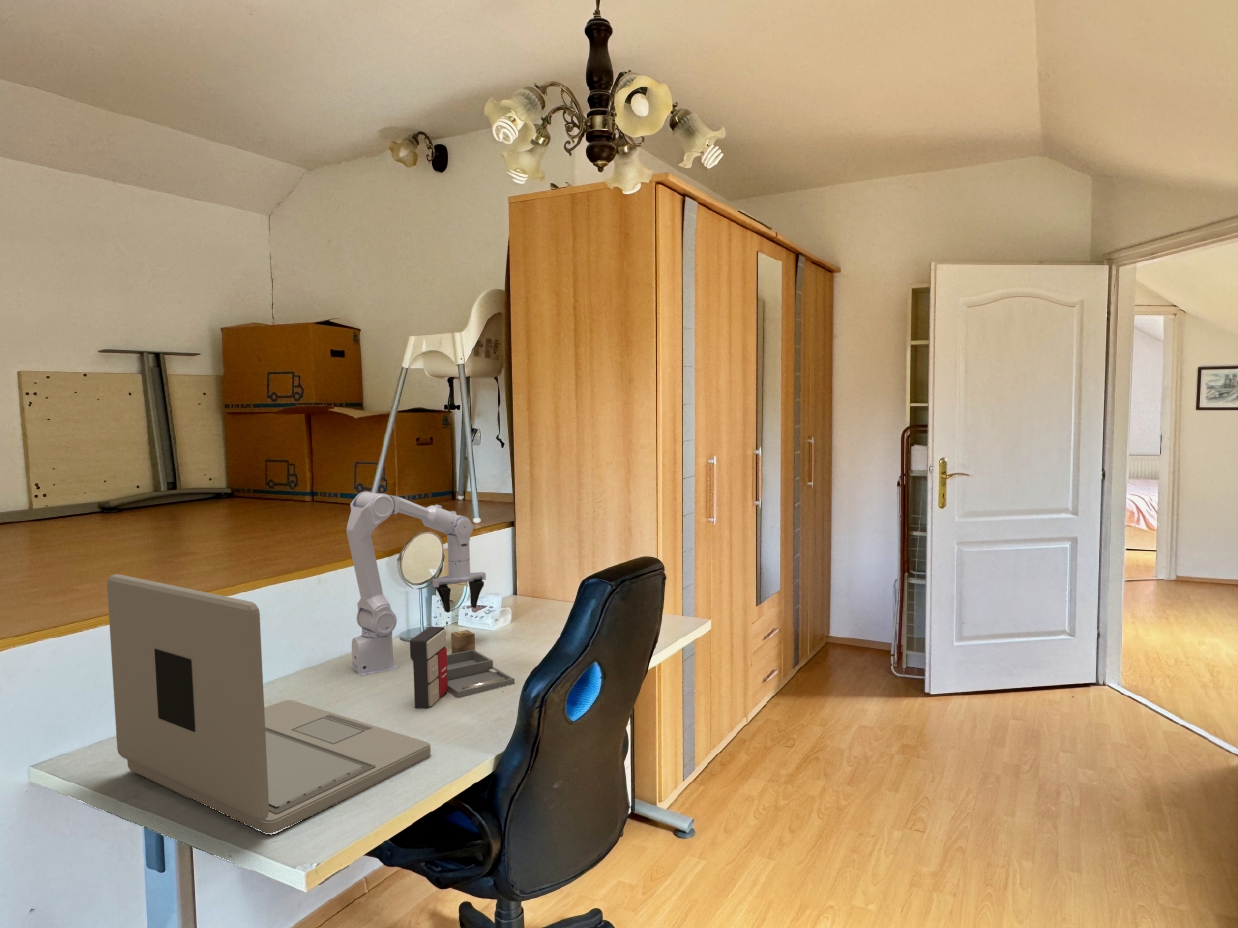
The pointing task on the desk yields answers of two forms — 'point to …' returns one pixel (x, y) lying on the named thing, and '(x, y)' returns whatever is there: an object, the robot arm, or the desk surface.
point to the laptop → (230, 712)
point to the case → (467, 664)
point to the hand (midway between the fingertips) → (460, 609)
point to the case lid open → (493, 673)
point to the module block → (462, 641)
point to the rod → (483, 683)
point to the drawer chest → (429, 666)
